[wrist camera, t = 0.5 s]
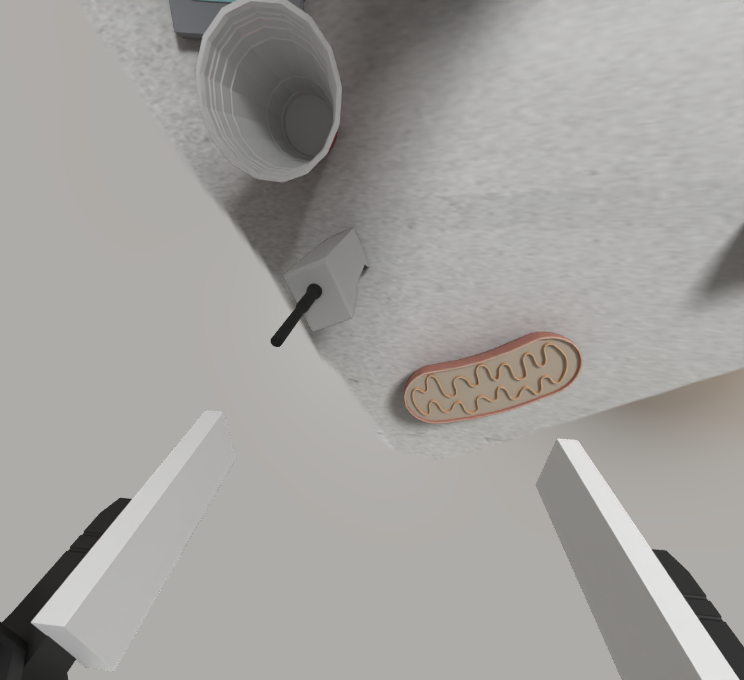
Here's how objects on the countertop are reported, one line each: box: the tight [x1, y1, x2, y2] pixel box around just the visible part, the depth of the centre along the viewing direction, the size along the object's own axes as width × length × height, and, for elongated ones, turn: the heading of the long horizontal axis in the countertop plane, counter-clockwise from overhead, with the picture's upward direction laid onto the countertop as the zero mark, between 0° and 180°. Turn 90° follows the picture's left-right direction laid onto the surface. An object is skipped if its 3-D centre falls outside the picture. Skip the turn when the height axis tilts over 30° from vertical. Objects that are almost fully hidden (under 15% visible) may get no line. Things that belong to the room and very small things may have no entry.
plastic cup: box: [195, 0, 342, 182], centre depth 26 cm, size 11×11×12 cm
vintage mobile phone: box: [271, 227, 370, 347], centre depth 27 cm, size 4×5×25 cm
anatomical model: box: [404, 332, 583, 424], centre depth 42 cm, size 23×10×5 cm, turn 113°
